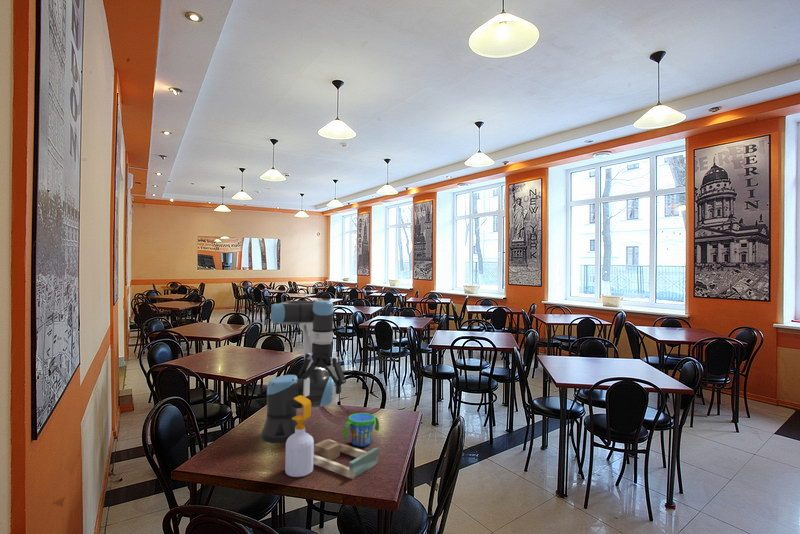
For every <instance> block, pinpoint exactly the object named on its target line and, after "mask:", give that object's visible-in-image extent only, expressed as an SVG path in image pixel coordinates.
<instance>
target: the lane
mask: <svg viewBox="0 0 800 534" xmlns="http://www.w3.org/2000/svg"><path fill="white" fill-rule="evenodd" d="M327 440H330V441H332V442H335V443H338V444H340V453H342V454H345V455H348V456H350V457H354V459H353V460H351V461H349V463H348V464H349V466H347V465H344V464H342V463H339V462H337V461H333V460H328V459H326V458H323V457H320V456H317V455H315V454H314V455H313V465H315V466H318V467H320V468H323V469H325V470H327V471H331V472H334V473H335V474H337V475H341V476H343V477H346V478H348V479H351V480H354V479H355V478H357V477H358V476H360V475H362V474H363V473H365V472H366V471H368V470H369V469H371V468H373V467H374V466H376V465H378V464H379V461H380V460H379V457H380V456H379V455H380V454H379V453H380V449H379V447H374V448H371V449H369V450H368V451H367V450H363V449H360V448H358V447H354V446H351V445H349V444H346V443H343V442H342V443H341V442H339V441H336V440H332V439H330V438H328V439H327Z"/></svg>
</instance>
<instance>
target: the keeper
mask: <svg viewBox="0 0 800 534" xmlns="http://www.w3.org/2000/svg"><path fill="white" fill-rule="evenodd" d="M330 440H331V439H330ZM330 440H327V439H324V440H322V441H319V442H318V443H314V454H315V455H317V456H320V457H323V458H326V459H328V460H331V461H333V460H335V459H337V458H339V457H340V456H341V452H340V444H338V443H335V442H332V441H330Z"/></svg>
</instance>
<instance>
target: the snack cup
mask: <svg viewBox="0 0 800 534" xmlns="http://www.w3.org/2000/svg"><path fill="white" fill-rule="evenodd" d="M348 428H349V429H348ZM348 430H349V432H350V439H351V443H352V445H353V446H356V447H366V446H368V445H371V443H372V439H373V433H374V430H375V431H377V432H378V431H379V430H380V423H379V419H378V417H377V416H375V415H374V414H372V413H367V412H358V413H357V412H356V413H352V414H350V415H349V416H348V420H347V422H346V423H345V424H344V428H343V433H342V436H343V438H344V440H348Z"/></svg>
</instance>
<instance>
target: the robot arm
mask: <svg viewBox="0 0 800 534" xmlns="http://www.w3.org/2000/svg"><path fill="white" fill-rule="evenodd" d="M333 302H334V301H331V300H326V299H324V300H323V299H321V300H316V299H314V300H287V301H286V300H285V301H283V302H279V303H272V305H271V309H270V310H271V311H270V315H271V316H270V322H271V323H273V324H283V325H289V326H299V329H300V330H301V331H302V341H303V358H304V359H303V362H302V365H301V367H300V369H299V371H298V373H297V375H296V374H285V375H284V374H283V375H280V376H276V377H274V378H272V379H270V380H269V381H268V383H267V388H266V400H267V401H266V417H265V422H264V424H263V428H262V430H261V439H262V440H263V441H265V442H268V443H275V444H278V443H286V441H287V439H288V438H289V437H290V436H291V435H292V434H294V433H295V426H296V425H298V423H297V422H296V420H292V418H293V417H295V416H297V415H298V414H297V411H298V410H297V409H303V406H302V404H300V403H299V402H297V401H295V400H294V398H295V397H297V396H299V395H302V396H304V397H306V398H307V399H309V400H310V401H311V408H318V407H319V408H322V407H327V406H330V405H331V404H332V403H333V404H336V403H338V402H340V394H341V393H342V385H344V384H346V382H347V379H346V377H345V375H344V374H345V373H344V371H343V369H342V366H341V363H340V357H339V356H335V357H333V356H332V354H333V341H334V340H333V339H334V338H333V337H334V331H333V330H334V329H333V327H334V325H333V324H334V311H335V309H334V303H333ZM298 377H299V378H298Z"/></svg>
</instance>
